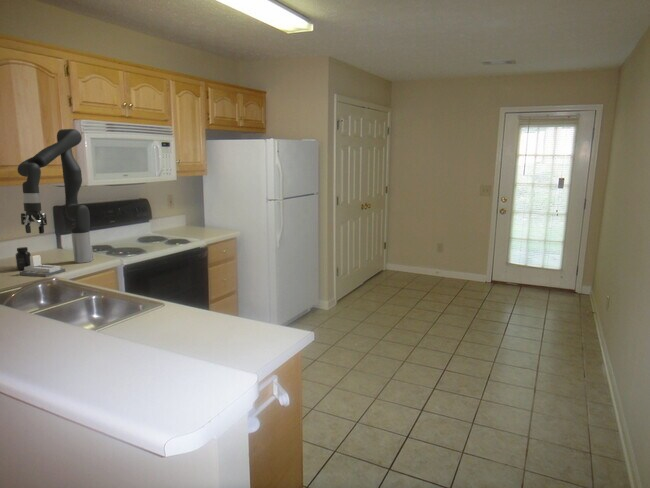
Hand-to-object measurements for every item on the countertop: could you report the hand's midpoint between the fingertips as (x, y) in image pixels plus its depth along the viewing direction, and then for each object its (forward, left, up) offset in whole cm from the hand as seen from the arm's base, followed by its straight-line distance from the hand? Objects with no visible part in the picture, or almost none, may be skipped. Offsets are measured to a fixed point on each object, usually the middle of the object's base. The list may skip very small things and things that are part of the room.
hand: (35, 233), depth 233 cm
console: (+1, +4, -21) cm, 21 cm away
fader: (+1, 0, -19) cm, 19 cm away
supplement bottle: (-4, -14, -21) cm, 26 cm away
